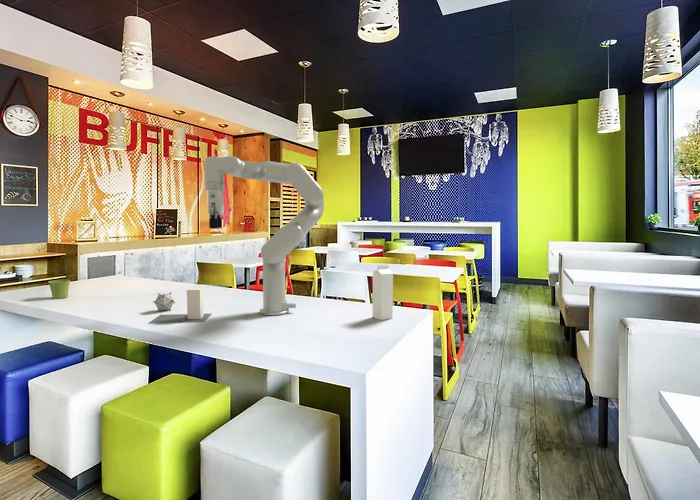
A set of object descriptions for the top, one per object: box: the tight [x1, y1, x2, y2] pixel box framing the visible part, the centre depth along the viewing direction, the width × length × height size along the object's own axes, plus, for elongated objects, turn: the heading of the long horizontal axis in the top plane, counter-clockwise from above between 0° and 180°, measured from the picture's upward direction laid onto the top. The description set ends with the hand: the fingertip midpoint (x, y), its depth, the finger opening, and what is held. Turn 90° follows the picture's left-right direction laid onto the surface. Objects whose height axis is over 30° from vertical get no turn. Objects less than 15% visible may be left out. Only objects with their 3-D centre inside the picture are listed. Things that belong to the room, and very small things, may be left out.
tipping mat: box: [147, 313, 213, 325], centre depth 160 cm, size 21×14×1 cm, turn 97°
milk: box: [372, 264, 394, 321], centre depth 163 cm, size 6×6×22 cm
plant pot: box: [47, 279, 71, 300], centre depth 201 cm, size 9×9×9 cm
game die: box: [152, 292, 176, 313], centre depth 174 cm, size 9×8×10 cm
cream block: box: [186, 287, 205, 320], centre depth 161 cm, size 5×5×12 cm
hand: (215, 228), depth 167 cm, fingers open, 9 cm apart
